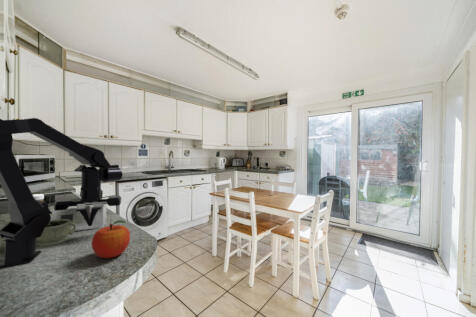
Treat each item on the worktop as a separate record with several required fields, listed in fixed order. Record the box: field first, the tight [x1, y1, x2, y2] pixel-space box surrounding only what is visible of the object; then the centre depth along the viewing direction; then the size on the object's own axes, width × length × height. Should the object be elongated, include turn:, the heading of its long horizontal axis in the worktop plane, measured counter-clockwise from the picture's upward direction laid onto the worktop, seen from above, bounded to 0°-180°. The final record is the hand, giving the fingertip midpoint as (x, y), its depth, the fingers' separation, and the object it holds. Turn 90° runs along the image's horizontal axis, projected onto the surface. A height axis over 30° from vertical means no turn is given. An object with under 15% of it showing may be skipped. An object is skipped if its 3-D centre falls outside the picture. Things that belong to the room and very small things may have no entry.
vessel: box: [36, 219, 76, 247], centre depth 65 cm, size 12×9×6 cm
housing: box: [51, 204, 108, 232], centre depth 78 cm, size 8×16×9 cm, turn 117°
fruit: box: [91, 219, 131, 259], centre depth 56 cm, size 10×10×10 cm
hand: (90, 225), depth 69 cm, fingers closed
